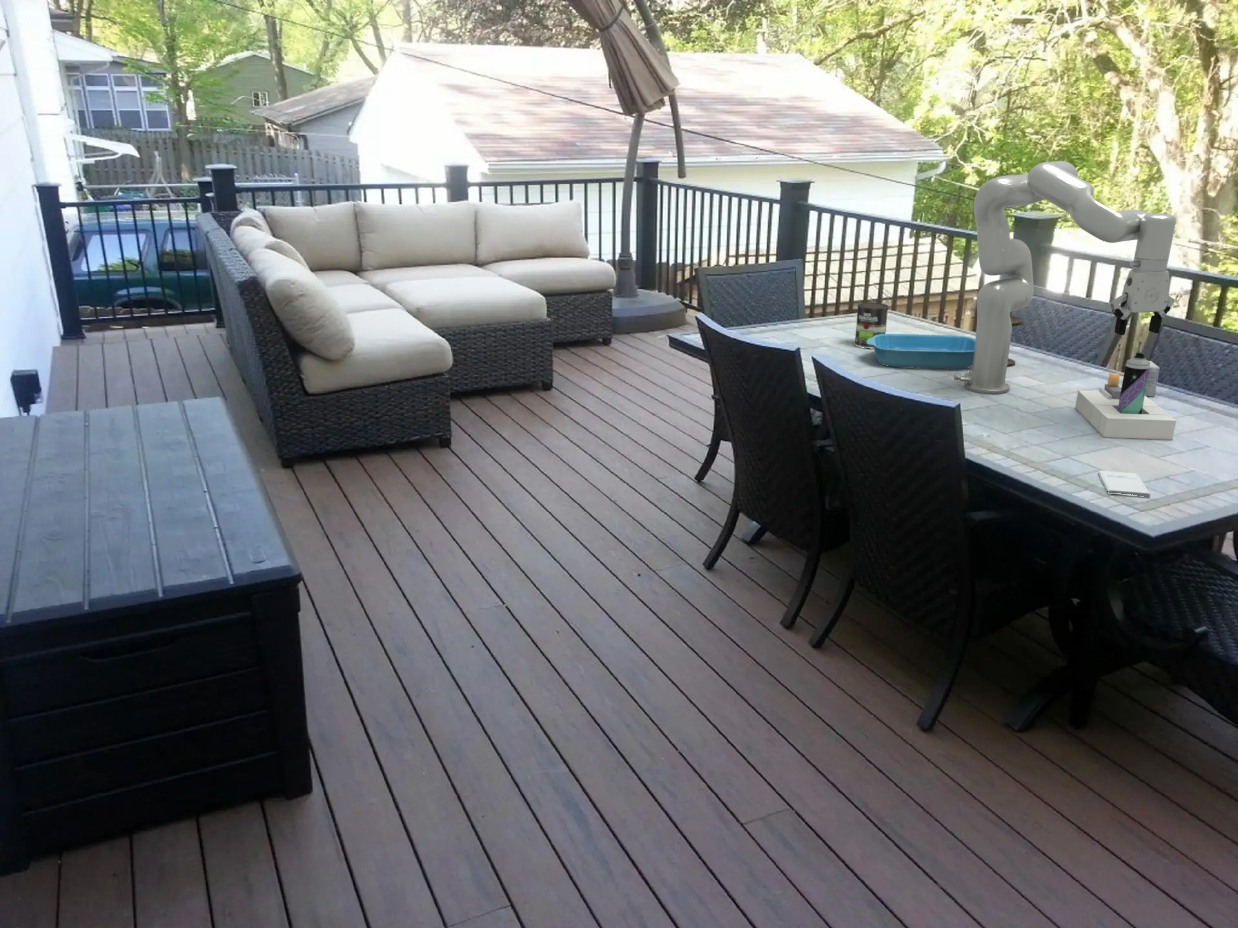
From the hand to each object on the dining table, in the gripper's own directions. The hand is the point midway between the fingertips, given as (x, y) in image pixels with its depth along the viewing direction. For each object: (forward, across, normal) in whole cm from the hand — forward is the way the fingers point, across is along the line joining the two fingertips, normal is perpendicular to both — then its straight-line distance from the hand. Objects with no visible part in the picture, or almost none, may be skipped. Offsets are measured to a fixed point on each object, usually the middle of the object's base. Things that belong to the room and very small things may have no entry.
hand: (1136, 333), depth 244 cm
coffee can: (+25, -28, +93) cm, 100 cm away
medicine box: (+24, +24, +22) cm, 41 cm away
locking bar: (+19, +3, +7) cm, 20 cm away
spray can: (+24, -1, -5) cm, 25 cm away
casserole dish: (+25, -20, +69) cm, 76 cm away
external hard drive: (+24, -28, -40) cm, 54 cm away
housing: (+24, 0, -1) cm, 24 cm away
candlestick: (+25, +2, +62) cm, 66 cm away
